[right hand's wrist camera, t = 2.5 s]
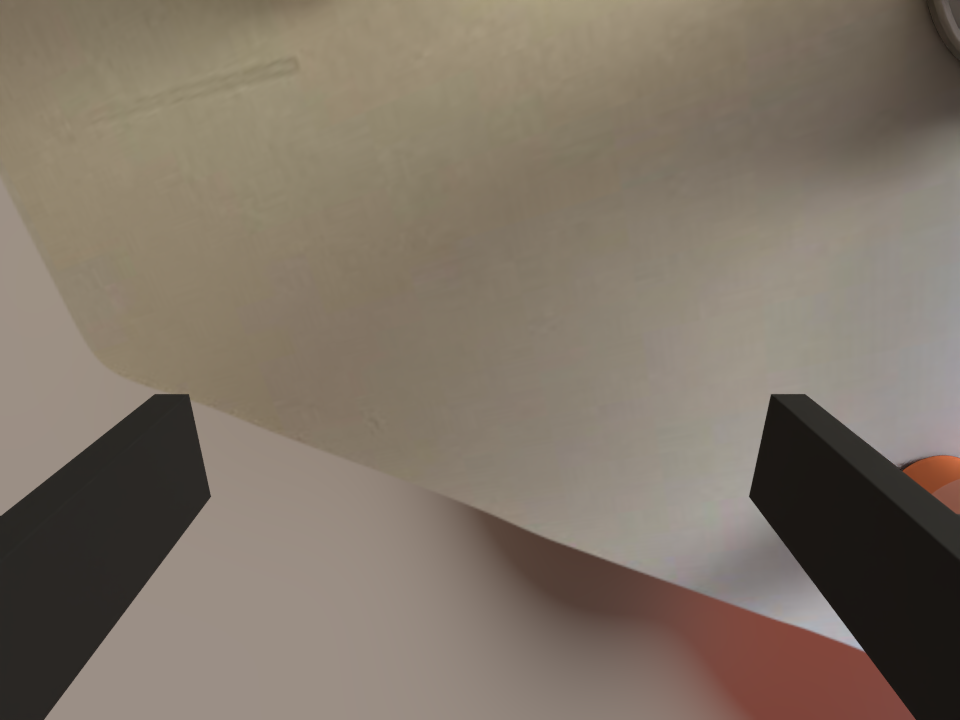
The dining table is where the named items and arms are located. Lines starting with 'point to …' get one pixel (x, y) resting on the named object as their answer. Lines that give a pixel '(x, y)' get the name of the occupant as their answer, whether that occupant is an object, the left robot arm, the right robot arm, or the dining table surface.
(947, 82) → the dining table surface
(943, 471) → the cup with straw
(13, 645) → the right robot arm
